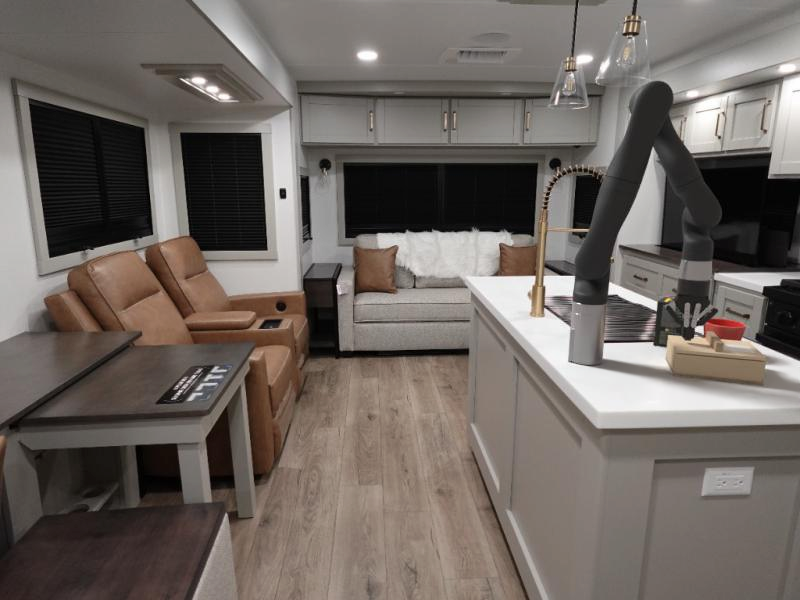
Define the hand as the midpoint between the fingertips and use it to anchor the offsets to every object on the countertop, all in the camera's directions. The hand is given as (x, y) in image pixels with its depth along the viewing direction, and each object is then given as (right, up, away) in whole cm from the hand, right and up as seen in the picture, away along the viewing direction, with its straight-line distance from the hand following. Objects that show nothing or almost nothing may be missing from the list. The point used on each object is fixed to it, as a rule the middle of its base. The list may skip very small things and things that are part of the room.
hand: (687, 339), depth 139 cm
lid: (+6, -2, -2) cm, 7 cm away
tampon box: (+8, -3, +24) cm, 25 cm away
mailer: (+6, -8, 0) cm, 10 cm away
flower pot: (+18, -5, +14) cm, 23 cm away
